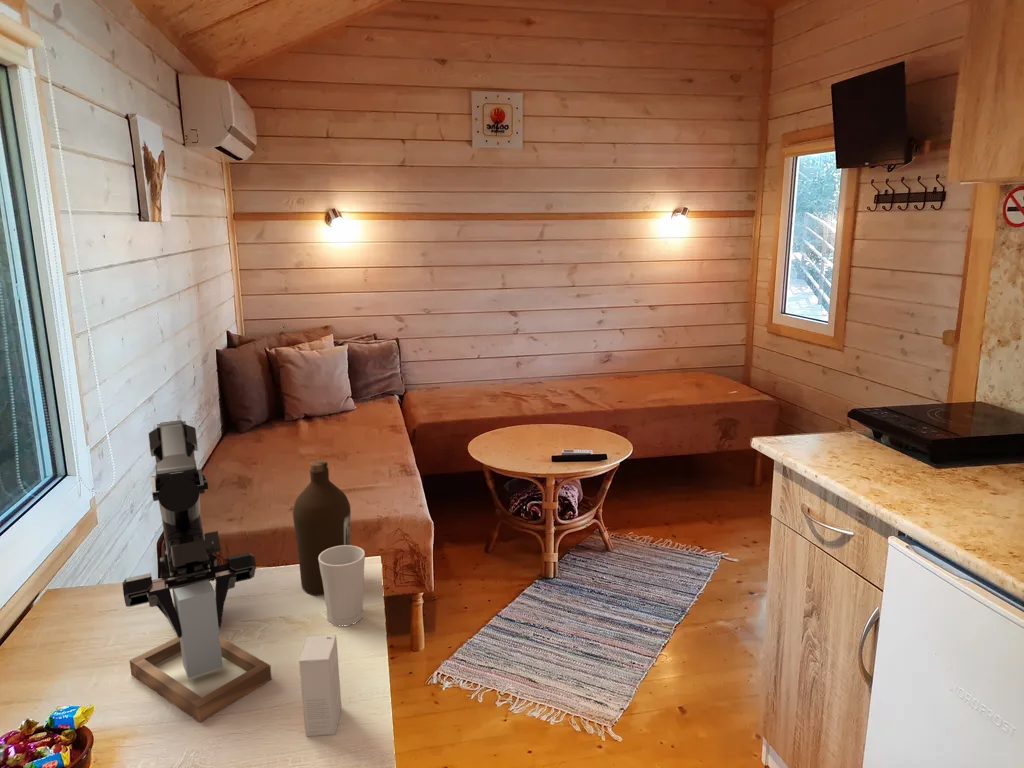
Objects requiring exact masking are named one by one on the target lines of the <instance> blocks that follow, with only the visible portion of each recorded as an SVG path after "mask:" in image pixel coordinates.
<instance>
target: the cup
mask: <svg viewBox="0 0 1024 768" xmlns="http://www.w3.org/2000/svg"><path fill="white" fill-rule="evenodd" d="M365 553H366V552H365V550H364V549H363V548H361V547H360V546H356V545H352V544H351V545H341V546H335V547H332V548H329V549H326V550H324V551H323V552H322V553H321V554H320V555H319V557H318V560H319V566H320V572H321V576H322V581H323V588H324V595H323V596H324V601H325V606H326V618H327V619H326V621H327V622H328V623H329V624H330V623H331V624H330V625H332V624H333V625H332V626H334V625H336V626H335V627H345V626H344V625H349V624H352V625H354V624H353V623H355V622H357V621H359V620H360V619H361V618H362V617H364V590H365V588H364V586H365V585H364V584H365V583H364V582H365V562H366V561H365V559H366V558H365V557H366V554H365ZM362 619H363V618H362ZM362 619H361V620H362ZM361 620H360V621H361ZM360 621H359V622H360ZM357 623H358V622H357ZM355 624H356V623H355ZM339 625H340V626H339ZM342 625H343V626H342ZM349 626H350V625H349Z"/></svg>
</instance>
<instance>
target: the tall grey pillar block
mask: <svg viewBox="0 0 1024 768" xmlns="http://www.w3.org/2000/svg"><path fill="white" fill-rule="evenodd" d="M174 596H175V604H176V612H177V618H178V621H179V624H180V630H181V638H180V644H181V652H182V661H183V666H184V669H185V671H186V674H187V677H188V678H191V677H194V676H197V675H200V674H203V673H206V672H209V671H212V670H215V669H218V668H221V667H223V663H222V654H221V645H220V637H221V636H220V628H219V626H218V617H217V608H216V598H215V588H214V587H213V585H212V583H211V581H209V580H206V581H202V582H199V583H195V584H191V585H187V586H184V587H180V588H176V589H174Z"/></svg>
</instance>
